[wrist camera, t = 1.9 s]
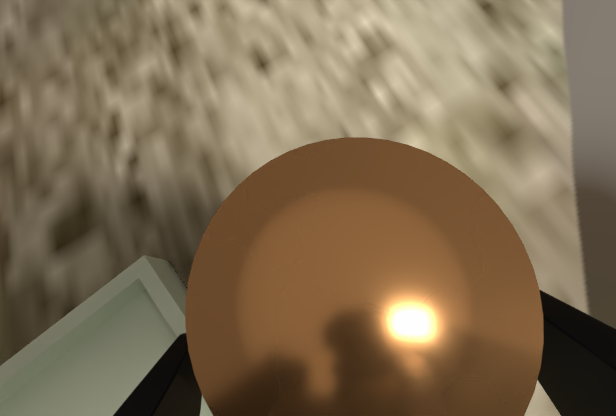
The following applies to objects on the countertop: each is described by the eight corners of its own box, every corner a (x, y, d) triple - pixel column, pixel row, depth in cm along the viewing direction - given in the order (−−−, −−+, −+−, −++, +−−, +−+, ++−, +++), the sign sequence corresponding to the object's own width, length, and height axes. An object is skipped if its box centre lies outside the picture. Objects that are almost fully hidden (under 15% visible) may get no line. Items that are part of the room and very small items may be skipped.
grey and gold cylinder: (420, 306, 17) (646, 325, 5) (331, 386, 16) (337, 643, 4) (343, 220, 18) (371, 69, 6) (259, 290, 17) (106, 271, 5)
